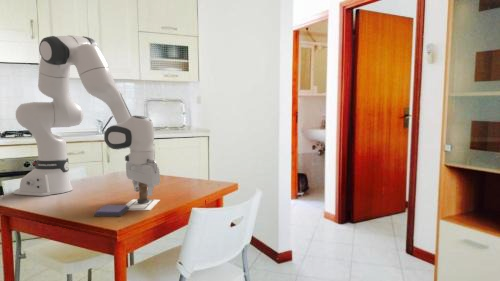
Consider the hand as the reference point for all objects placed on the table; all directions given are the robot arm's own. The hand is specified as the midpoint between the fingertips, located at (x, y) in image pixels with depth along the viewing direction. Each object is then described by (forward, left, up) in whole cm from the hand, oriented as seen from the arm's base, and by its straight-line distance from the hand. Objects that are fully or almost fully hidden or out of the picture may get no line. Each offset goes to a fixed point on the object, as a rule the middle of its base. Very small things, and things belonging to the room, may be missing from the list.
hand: (143, 193), depth 137 cm
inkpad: (-7, -13, -4) cm, 15 cm away
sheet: (0, -3, -4) cm, 5 cm away
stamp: (0, 0, -3) cm, 3 cm away
